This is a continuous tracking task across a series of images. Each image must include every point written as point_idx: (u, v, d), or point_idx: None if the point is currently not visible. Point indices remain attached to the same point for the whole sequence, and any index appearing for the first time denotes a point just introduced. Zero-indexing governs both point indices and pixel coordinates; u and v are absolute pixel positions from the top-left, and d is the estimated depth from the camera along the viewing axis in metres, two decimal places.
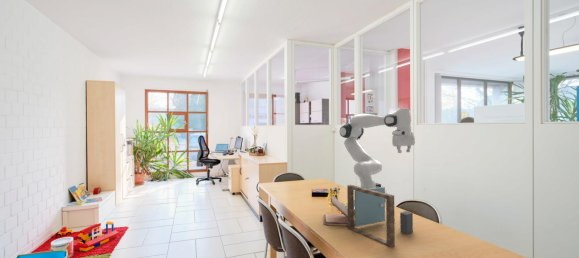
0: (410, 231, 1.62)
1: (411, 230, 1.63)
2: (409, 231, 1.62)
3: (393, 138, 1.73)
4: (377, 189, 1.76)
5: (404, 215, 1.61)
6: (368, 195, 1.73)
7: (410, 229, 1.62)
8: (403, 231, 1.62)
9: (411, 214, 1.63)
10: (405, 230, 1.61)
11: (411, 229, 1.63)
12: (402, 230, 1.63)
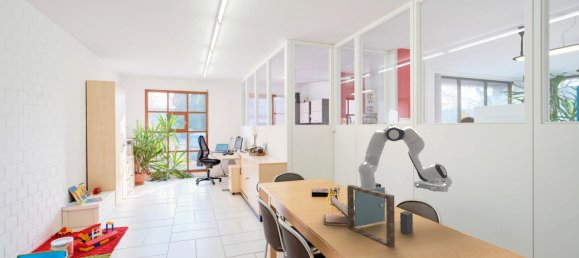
0: (410, 231, 1.62)
1: (411, 230, 1.63)
2: (409, 231, 1.62)
3: (446, 186, 1.71)
4: (377, 189, 1.76)
5: (404, 215, 1.61)
6: (368, 195, 1.73)
7: (410, 229, 1.62)
8: (403, 231, 1.62)
9: (411, 214, 1.63)
10: (405, 230, 1.61)
11: (411, 229, 1.63)
12: (402, 230, 1.63)
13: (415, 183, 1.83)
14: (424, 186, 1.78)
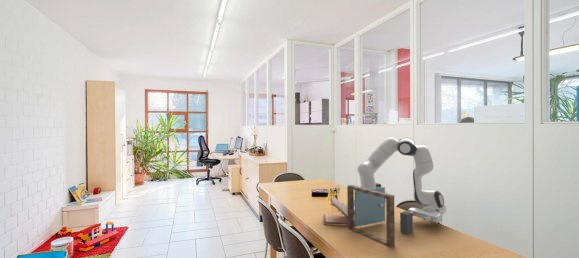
0: (410, 231, 1.62)
1: (411, 230, 1.63)
2: (409, 231, 1.62)
3: (440, 216, 1.67)
4: (377, 189, 1.76)
5: (404, 215, 1.61)
6: (368, 195, 1.73)
7: (410, 229, 1.62)
8: (403, 231, 1.62)
9: (411, 214, 1.63)
10: (405, 230, 1.61)
11: (411, 229, 1.63)
12: (402, 230, 1.63)
13: (409, 210, 1.80)
14: (418, 214, 1.75)
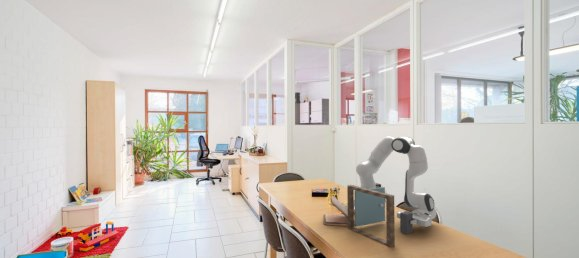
0: (410, 231, 1.62)
1: (411, 230, 1.63)
2: (409, 231, 1.62)
3: (429, 220, 1.60)
4: (377, 189, 1.76)
5: (404, 215, 1.61)
6: (368, 195, 1.73)
7: (410, 229, 1.62)
8: (403, 231, 1.62)
9: (411, 214, 1.63)
10: (405, 230, 1.61)
11: (411, 229, 1.63)
12: (402, 230, 1.63)
13: (398, 214, 1.73)
14: None
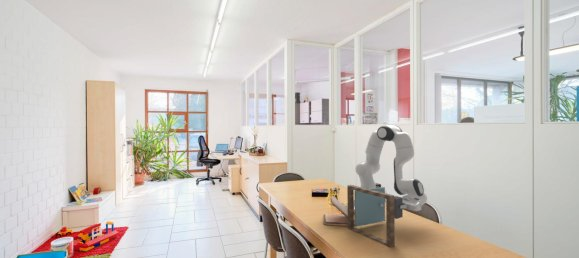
0: (399, 216, 1.61)
1: (401, 215, 1.62)
2: (399, 216, 1.61)
3: (419, 204, 1.60)
4: (377, 189, 1.76)
5: (394, 200, 1.60)
6: (368, 195, 1.73)
7: (399, 214, 1.61)
8: None
9: (401, 199, 1.62)
10: (395, 215, 1.60)
11: (401, 214, 1.62)
12: None
13: None
14: None
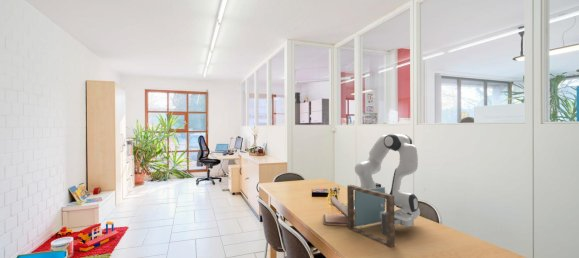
0: None
1: None
2: None
3: (411, 220, 1.59)
4: (377, 189, 1.76)
5: (385, 216, 1.60)
6: (368, 195, 1.73)
7: None
8: (385, 232, 1.61)
9: None
10: None
11: None
12: (384, 231, 1.61)
13: (380, 214, 1.71)
14: None
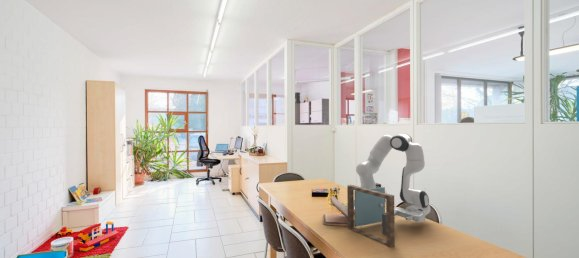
0: None
1: None
2: None
3: (423, 215, 1.65)
4: (377, 189, 1.76)
5: None
6: (368, 195, 1.73)
7: None
8: (385, 232, 1.61)
9: None
10: None
11: None
12: (384, 231, 1.61)
13: None
14: (401, 214, 1.73)
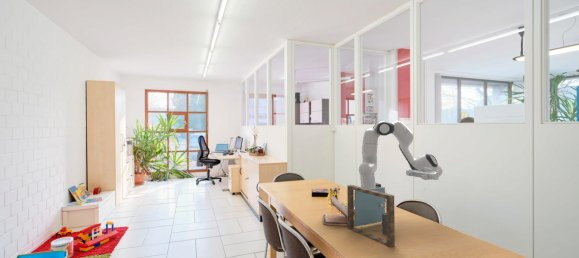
0: None
1: None
2: None
3: (436, 174, 1.76)
4: (377, 189, 1.76)
5: None
6: (368, 195, 1.73)
7: None
8: (385, 232, 1.61)
9: None
10: None
11: None
12: (384, 231, 1.61)
13: (407, 171, 1.88)
14: (416, 174, 1.84)
